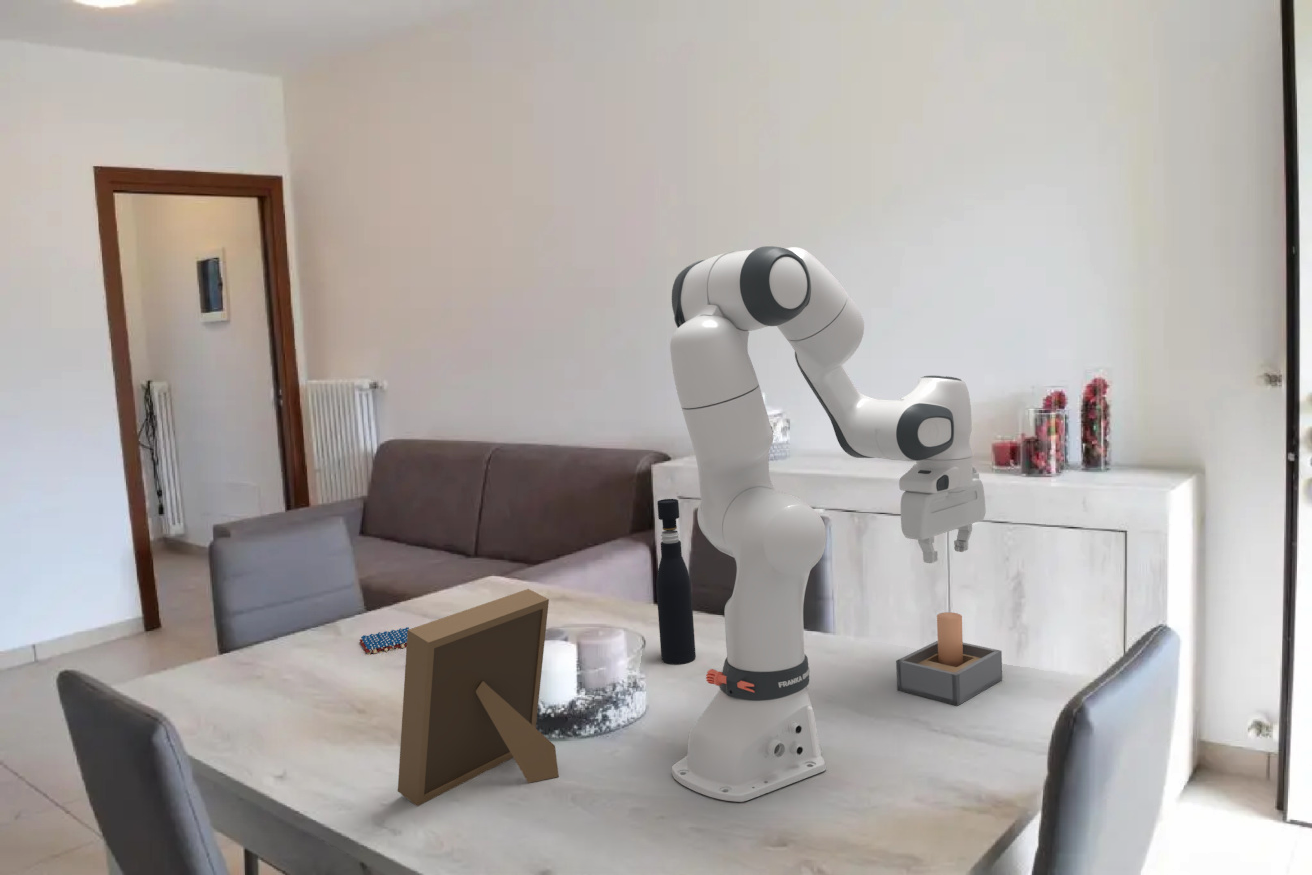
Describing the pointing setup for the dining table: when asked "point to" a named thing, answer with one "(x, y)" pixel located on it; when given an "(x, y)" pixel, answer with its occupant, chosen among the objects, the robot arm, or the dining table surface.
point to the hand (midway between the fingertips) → (946, 556)
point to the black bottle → (674, 592)
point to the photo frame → (474, 697)
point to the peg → (950, 639)
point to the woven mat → (384, 641)
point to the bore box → (949, 673)
